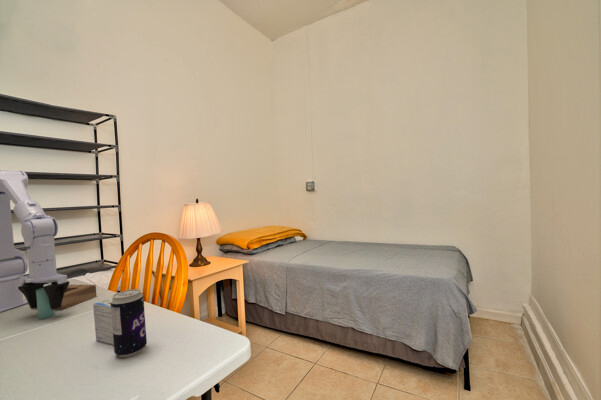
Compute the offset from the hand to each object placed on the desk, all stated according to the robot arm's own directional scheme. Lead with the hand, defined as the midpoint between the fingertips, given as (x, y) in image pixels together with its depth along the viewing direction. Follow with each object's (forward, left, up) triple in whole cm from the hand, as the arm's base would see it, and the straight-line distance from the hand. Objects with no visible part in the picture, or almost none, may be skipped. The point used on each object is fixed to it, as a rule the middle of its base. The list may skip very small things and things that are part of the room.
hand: (45, 308), depth 79 cm
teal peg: (0, 0, -2) cm, 2 cm away
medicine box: (+34, -9, -3) cm, 35 cm away
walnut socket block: (-6, +10, -2) cm, 12 cm away
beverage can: (+42, -13, -3) cm, 44 cm away
